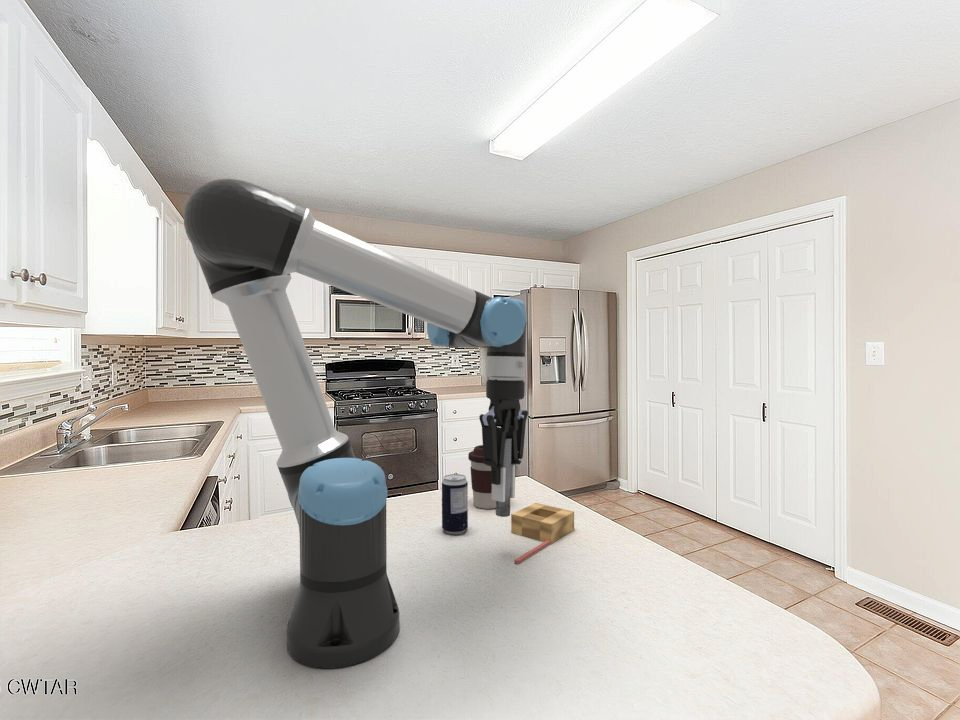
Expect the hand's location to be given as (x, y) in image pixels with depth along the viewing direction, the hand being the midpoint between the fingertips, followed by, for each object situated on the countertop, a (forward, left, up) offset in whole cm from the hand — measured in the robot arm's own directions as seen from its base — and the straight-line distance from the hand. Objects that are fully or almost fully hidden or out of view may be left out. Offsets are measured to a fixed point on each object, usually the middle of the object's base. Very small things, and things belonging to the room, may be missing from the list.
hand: (503, 498), depth 93 cm
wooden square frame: (+15, 0, -11) cm, 18 cm away
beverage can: (+3, +15, -11) cm, 19 cm away
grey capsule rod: (0, 0, -3) cm, 3 cm away
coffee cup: (+21, +20, -11) cm, 31 cm away
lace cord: (+4, -5, -11) cm, 12 cm away
